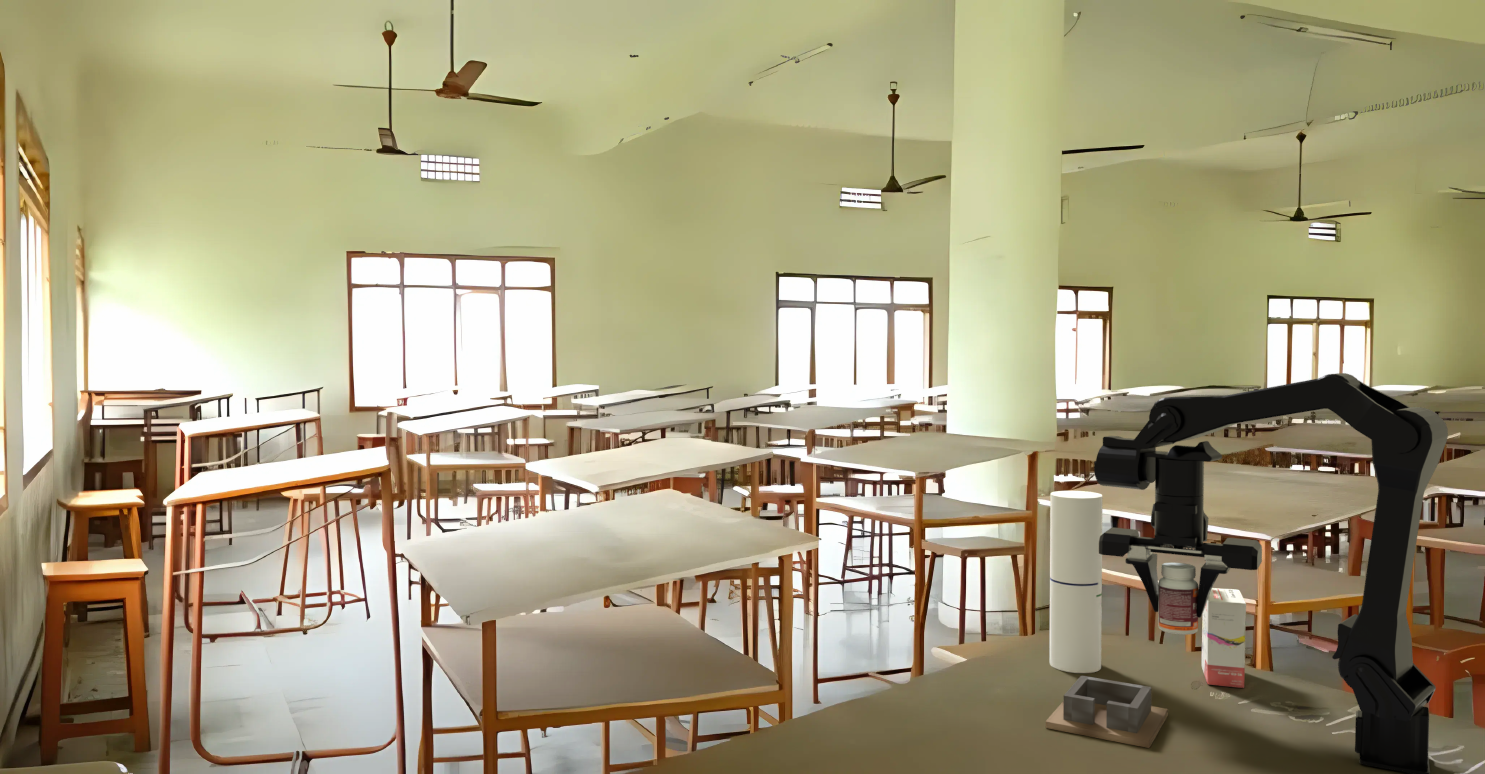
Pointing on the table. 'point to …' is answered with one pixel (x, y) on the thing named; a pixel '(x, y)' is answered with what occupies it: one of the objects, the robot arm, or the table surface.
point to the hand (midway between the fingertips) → (1177, 613)
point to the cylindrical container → (1075, 581)
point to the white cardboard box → (1224, 638)
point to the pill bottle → (1178, 599)
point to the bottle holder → (1109, 712)
